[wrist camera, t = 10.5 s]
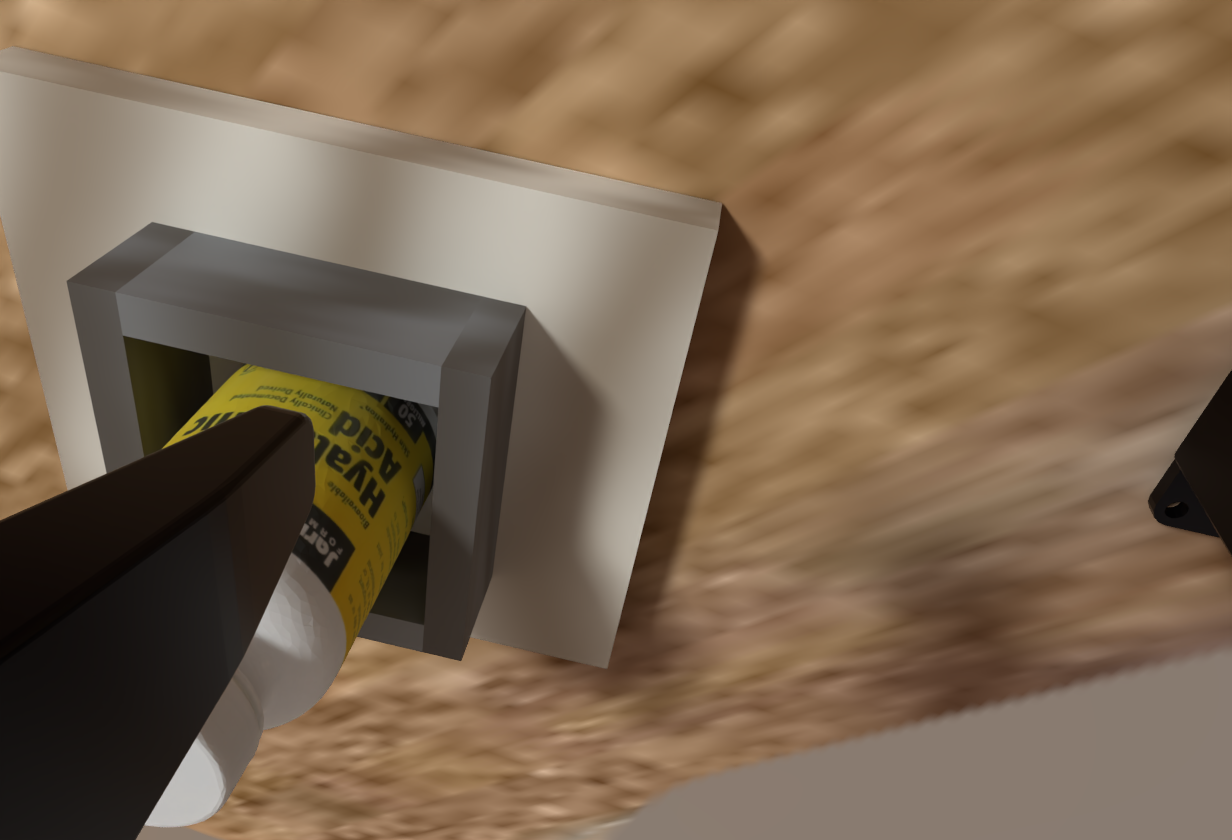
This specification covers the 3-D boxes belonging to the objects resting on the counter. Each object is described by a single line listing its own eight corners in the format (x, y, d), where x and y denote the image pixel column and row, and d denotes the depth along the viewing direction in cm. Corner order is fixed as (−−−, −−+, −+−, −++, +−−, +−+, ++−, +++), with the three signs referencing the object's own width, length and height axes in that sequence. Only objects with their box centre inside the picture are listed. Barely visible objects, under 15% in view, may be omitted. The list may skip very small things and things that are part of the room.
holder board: (722, 203, 20) (708, 297, 16) (614, 630, 28) (589, 757, 24) (13, 46, 20) (-159, 103, 16) (111, 513, 28) (12, 621, 25)
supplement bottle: (477, 386, 22) (303, 738, 14) (413, 533, 25) (240, 889, 17) (260, 287, 21) (-59, 597, 13) (222, 451, 24) (-54, 783, 16)
